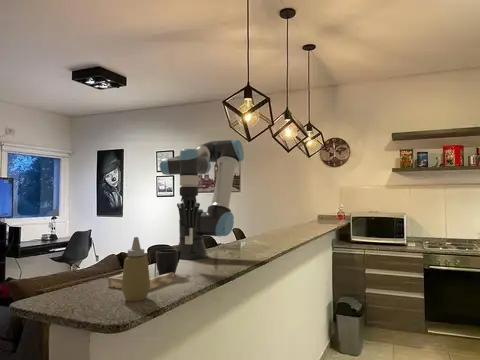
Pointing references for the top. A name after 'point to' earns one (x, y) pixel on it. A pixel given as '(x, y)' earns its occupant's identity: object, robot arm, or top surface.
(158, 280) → the tray
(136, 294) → the squeeze bottle
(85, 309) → the top surface
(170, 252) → the mug
